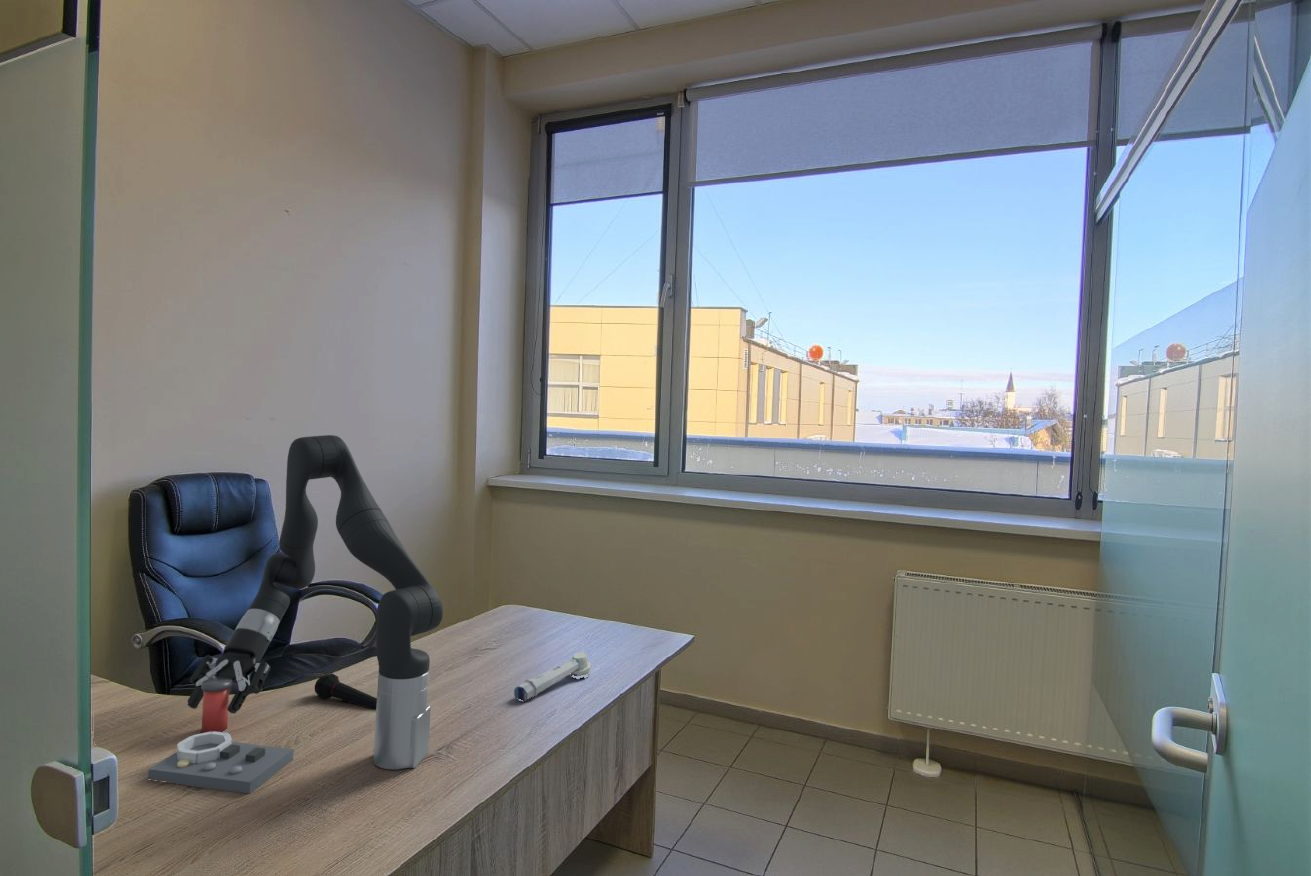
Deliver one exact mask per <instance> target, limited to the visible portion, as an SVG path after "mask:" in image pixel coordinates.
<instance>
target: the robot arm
mask: <svg viewBox="0 0 1311 876" xmlns="http://www.w3.org/2000/svg"><path fill="white" fill-rule="evenodd" d="M325 478H332V479H334V480H335V482H336V484H337V485H338V487H339V490H340V497H339V502H338V507H337V510H336V515H335V527H336V529H337V532H338V534H339V537H340V538H341V539H342V541H343V543H344V544H345V546H346V548H347V550H348V552H349V553H350V554H351V555H352V556H353V557H354V558H355V559H356V560H358V561H359V562H361V563H362V564H363V565H365V566H366V567H368V568H370V569H372V570H373V571H375V572H377V573H378V574H379V575H381V576H382V577H384V578H385V579H386V580H388V582H389V583H390V584H391V585H392V587H393V588H394V590H390V591H387V592H385V593H384V594H383V595H382V596H381V598H380V599H379V602H378V605H377V608H376V615H375V617H376V623H375V624H376V625H375V628H376V629H375V630H376V631H375V632H376V633H375V634H376V635H375V640H376V641H375V642H376V644H375V646H376V647H375V652H376V657H377V662H378V678H377V693H376V694H377V695H376V698H377V707H376V709H375V710H376V711H375V727H374V744H373V745H374V746H373V747H374V748H373V759H372V760H373V763H374V765H375V766H377V767H378V768H380V769H384V770H402V769H407V768H409V769H410V768H413V769H415V768H417V766H418V765H419V764H420V763H421V762H422V761H423V759H424V758H425V757H426V756H427V755H428V754H429V746H430V745H429V743H430V729H431V728H430V726H431V724H430V723H431V710H432V707H431V705H428V692H429V676H430V666H431V665H430V662H431V661H430V660H431V659H430V655H429V654H428V653H427V652H425V651H424V650H421V649H418V648H413V647H412V646H411V645H412V643H411V642H412V641H411V638H412V637H413V636H416V635H419V634H423V633H427V632H430V631H432V630H434V629H436V628H437V627H439V625H440V624H441V622H442V621H443V616H444V609H443V604H442V600H441V598H440V595H439V594H438V592H437V590H436V589H435V588H434V586H433V585H432V583H431V582H430V581H429V579H428V578H427V577H426V576H425V574H424V573H423V572H422V570H421V569H420V568H419V567H418V565H417V564H416V563H415V562H414V560H413V559H412V558H411V556H410V555H409V553H408V551H407V550H406V549H405V548H406V547H404V545H403V544H402V542H401V541H400V539H399V538H398V536H397V534H396V532H395V531H394V529H393V528H392V526H391V523H390V522H389V519H387V517H386V515H385V513H384V512H383V511H382V509H381V507H380V506H379V505H378V503H377V502H376V500H375V498H374V495H372V493H371V491H370V490H369V488H368V485H367V484H366V482H365V481H364V479H363V477H362V474H361V473H360V470H359V469H358V466H357V464H356V462H355V460H354V457H353V455H352V453H351V451H350V449H349V447H348V446H347V444H346V443H345V441H344V440H343V439H342V438H341V437H340V436H338V435H333V434H326V435H313V436H304V437H303V436H301V437H298V438H296V439H294V440H293V441H292V442H291V444H290V445H289V449H288V453H287V462H286V478H285V479H286V480H285V513H284V519H283V523H282V528H281V532H280V537H279V542H278V548H279V550H280V551H278V552H276V553H273V554H272V555H270V556H269V557H268V559H267V561H266V562H265V566H264V568H263V575H262V579H261V582H260V585H259V588H258V591H257V594H256V596H255V597H254V599H253V601H252V602H251V604H250V606H249V607H248V609H247V611H246V612H245V614H244V615H243V616H242V618H241V619H240V620H239V622H238V623H237V626H236V627H235V628H234V630H233V632H232V634H231V636H230V637H229V640H227V642H226V644H225V646H224V649H223V652H222V655H220V656H219V657H218V658H217V657H212V656H211V655H210V654H207V655H205V656H204V657H203V658H202V661H200V663H199V664H198V666H197V668H196V669H195V670H194V672H193V674H191V676H190V678H189V682H190V683H191V684H192V685H193V686H195V687H194V689H193V691H192V692H191V694H190V696H189V697H188V699H187V706H188V707H189V708H191V709H195V710H196V709H197V708H198V706H199V704H200V703H201V701H202V700H203V690H202V689H201V684H202V682H203V681H205V680H207V679H210V678H215V677H229V678H231V679H232V684H233V683H234V684H238V685H237V687H238V691H235V694H234V696H233V697H232V699H231V701H230V703H228V709H227V710H228V713H230V714H236V713H237V712H238V711H240V709H241V708H242V706H243V704H244V703H245V701H246V699H247V697H249V695H253V694H255V695H258V694H260V692H261V690H262V688H263V685H264V684H265V681H266V679H267V677H268V675H269V673H270V671H271V666H270V665H269V664H268V663H267V662H266V661H264V660H262V661H261V659H262V658H263V657H264V654H265V653H266V651H267V649H268V647H269V645H270V644H271V641H272V640H273V639H274V636H275V634H276V632H277V630H278V627H279V625H280V623H281V621H282V619H283V617H284V616H285V614H286V612H287V610H288V608H289V606H290V604H291V599H290V596H289V595H288V594H287V593H285V592H284V591H282V590H280V589H279V588H277V587H276V586H275V585H276V584H277V585H281V586H284V587H288V588H290V589H295V590H303V589H305V588H307V587H308V586H309V585H311V583H312V582H313V580H314V577H315V574H316V563H315V555H314V544H315V543H314V542H315V539H316V535H317V531H318V528H319V525H318V524H319V519H318V518H319V517H318V514H317V512H316V510H315V508H314V505H313V504H312V502H311V501H310V500H309V497H308V495H307V486H308V482H309V481H310V480H317V479H325ZM260 661H261V662H260ZM254 672H255V673H254ZM252 673H254V674H253V677H252V679H251V680H250V677H249V676H250V675H251V674H252Z"/></svg>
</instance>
